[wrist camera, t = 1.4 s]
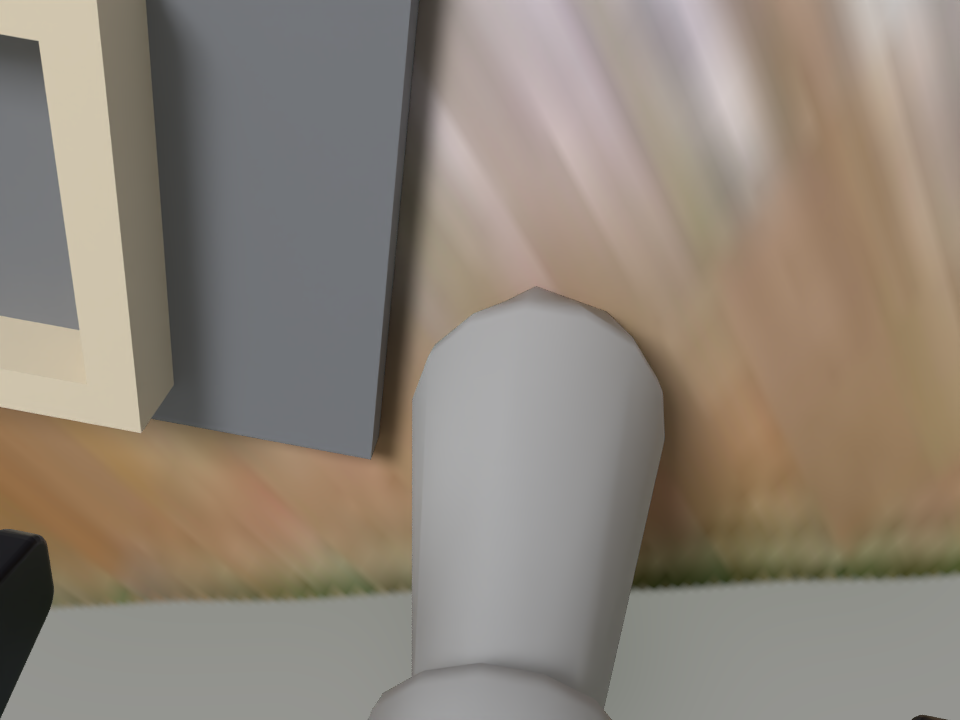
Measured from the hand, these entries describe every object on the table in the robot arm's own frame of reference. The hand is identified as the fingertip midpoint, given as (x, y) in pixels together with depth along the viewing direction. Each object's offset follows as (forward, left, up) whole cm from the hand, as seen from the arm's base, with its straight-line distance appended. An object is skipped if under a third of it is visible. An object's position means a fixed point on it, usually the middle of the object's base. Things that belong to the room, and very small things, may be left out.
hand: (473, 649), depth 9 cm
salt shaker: (-1, +5, -13) cm, 14 cm away
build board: (+11, +2, -13) cm, 17 cm away
